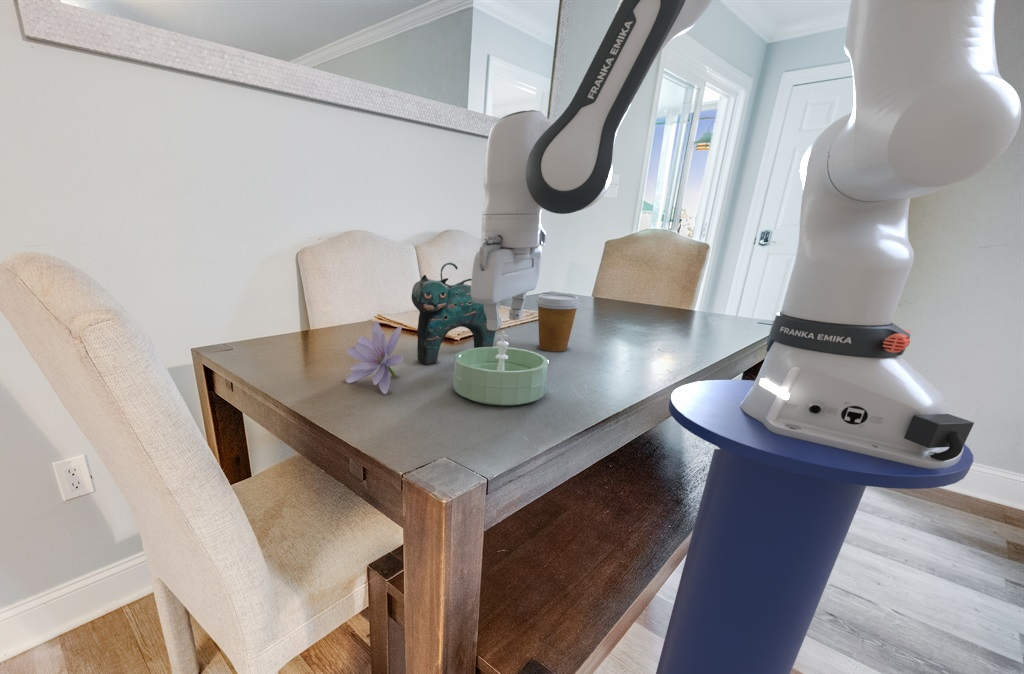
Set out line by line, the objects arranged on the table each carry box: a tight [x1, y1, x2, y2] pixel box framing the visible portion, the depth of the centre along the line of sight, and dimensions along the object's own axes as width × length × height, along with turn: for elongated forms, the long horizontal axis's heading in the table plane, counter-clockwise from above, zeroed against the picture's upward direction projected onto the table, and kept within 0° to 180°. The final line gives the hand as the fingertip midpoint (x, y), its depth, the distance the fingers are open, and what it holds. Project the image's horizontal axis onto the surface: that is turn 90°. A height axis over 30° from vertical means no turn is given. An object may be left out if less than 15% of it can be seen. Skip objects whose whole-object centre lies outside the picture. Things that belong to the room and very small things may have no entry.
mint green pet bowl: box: [453, 346, 549, 407], centre depth 79 cm, size 16×16×6 cm
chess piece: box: [495, 330, 510, 371], centre depth 78 cm, size 5×5×10 cm
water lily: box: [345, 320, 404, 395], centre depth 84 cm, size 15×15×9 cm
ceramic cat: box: [411, 262, 497, 366], centre depth 97 cm, size 20×6×20 cm, turn 119°
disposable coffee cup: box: [535, 293, 581, 352], centre depth 106 cm, size 10×10×12 cm
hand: (504, 324), depth 76 cm, fingers open, 8 cm apart
